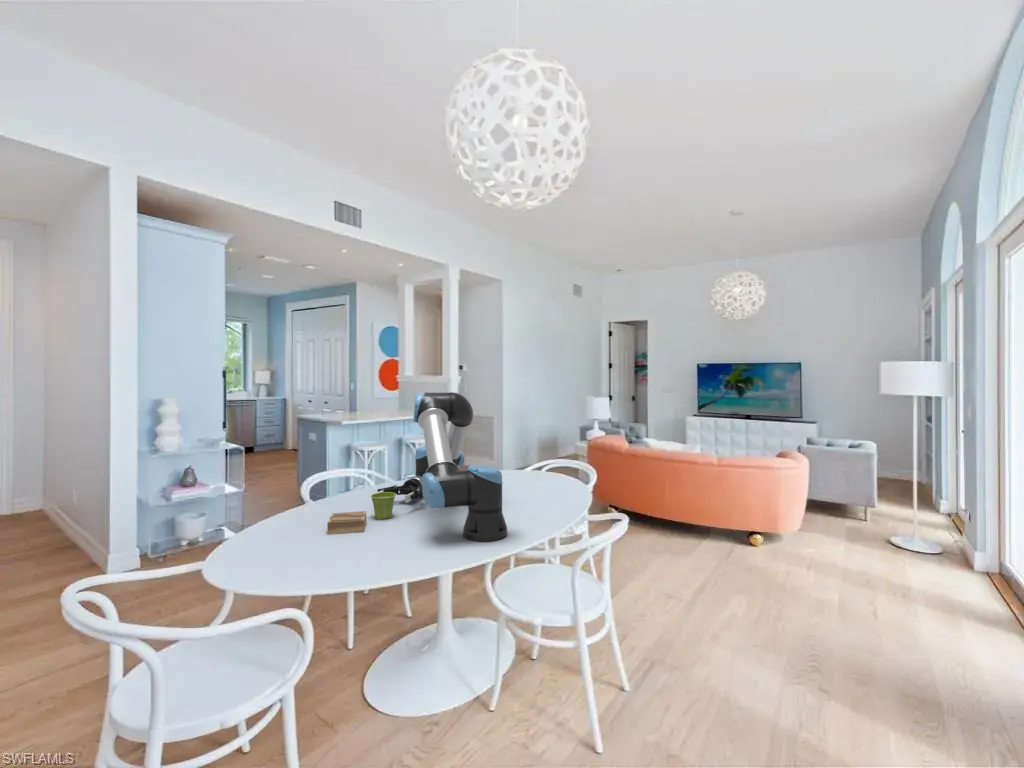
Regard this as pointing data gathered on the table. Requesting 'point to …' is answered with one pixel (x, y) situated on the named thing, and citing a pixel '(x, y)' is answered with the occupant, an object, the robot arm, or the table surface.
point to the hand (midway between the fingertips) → (390, 498)
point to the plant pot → (383, 504)
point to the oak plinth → (347, 522)
